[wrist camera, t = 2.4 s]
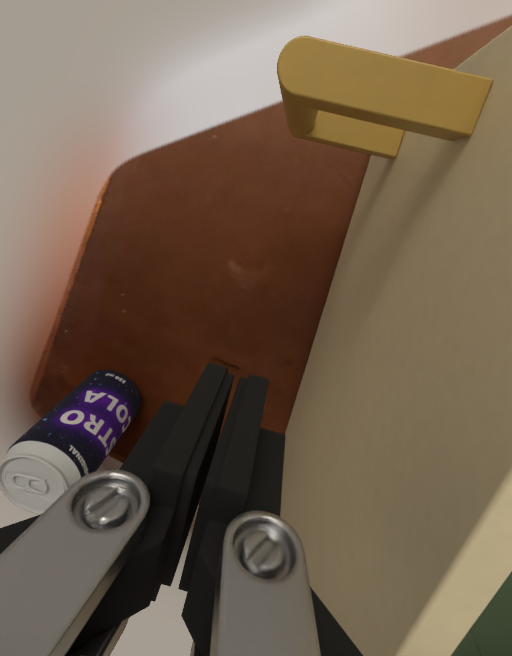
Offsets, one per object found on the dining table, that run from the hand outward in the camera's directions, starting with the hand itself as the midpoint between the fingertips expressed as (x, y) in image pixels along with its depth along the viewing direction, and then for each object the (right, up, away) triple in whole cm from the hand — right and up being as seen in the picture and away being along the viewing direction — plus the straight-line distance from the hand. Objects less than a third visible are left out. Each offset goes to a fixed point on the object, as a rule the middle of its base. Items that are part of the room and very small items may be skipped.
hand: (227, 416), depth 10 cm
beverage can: (-13, -4, +26) cm, 29 cm away
